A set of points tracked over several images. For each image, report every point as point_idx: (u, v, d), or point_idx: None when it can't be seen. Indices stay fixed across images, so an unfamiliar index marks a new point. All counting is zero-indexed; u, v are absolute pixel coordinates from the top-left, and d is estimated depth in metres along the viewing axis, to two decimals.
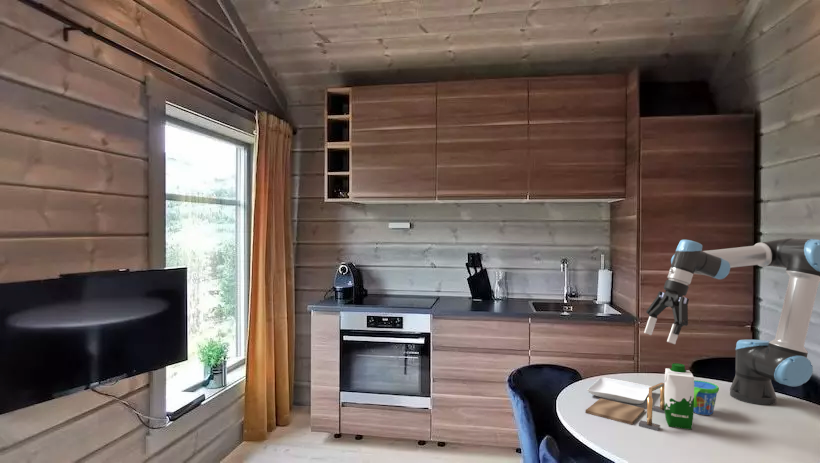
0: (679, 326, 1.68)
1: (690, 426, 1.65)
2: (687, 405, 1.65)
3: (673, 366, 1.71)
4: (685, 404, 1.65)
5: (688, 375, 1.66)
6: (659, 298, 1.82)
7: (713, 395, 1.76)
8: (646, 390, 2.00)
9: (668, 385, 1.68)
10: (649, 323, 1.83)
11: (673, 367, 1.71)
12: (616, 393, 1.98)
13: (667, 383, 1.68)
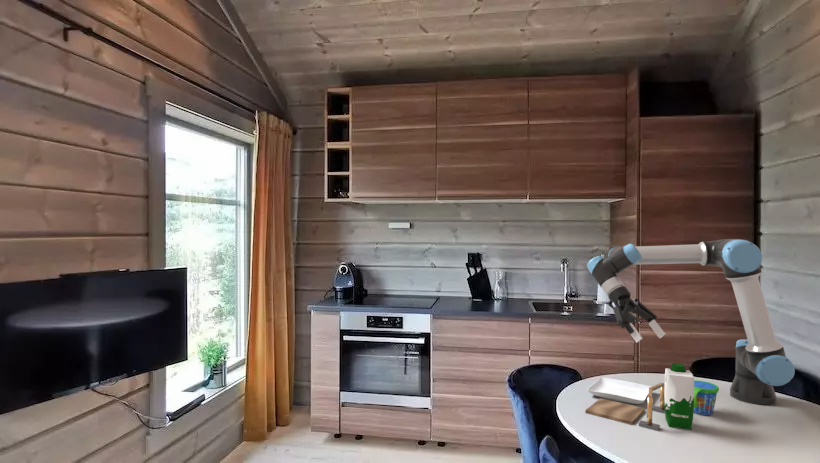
0: (625, 326, 1.77)
1: (690, 426, 1.65)
2: (687, 405, 1.65)
3: (673, 366, 1.71)
4: (685, 404, 1.65)
5: (688, 375, 1.66)
6: None
7: (713, 395, 1.76)
8: (646, 390, 2.00)
9: (668, 385, 1.68)
10: (653, 329, 1.84)
11: (673, 367, 1.71)
12: (616, 393, 1.98)
13: (667, 383, 1.68)
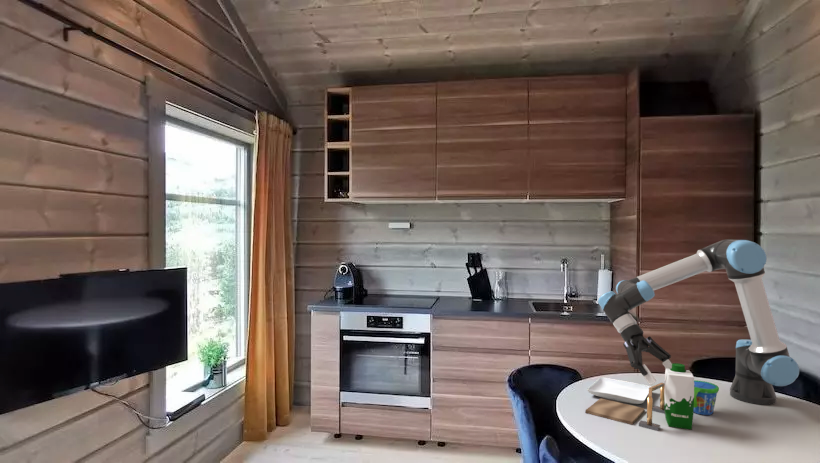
0: (639, 367, 1.72)
1: (690, 426, 1.65)
2: (687, 405, 1.65)
3: (673, 366, 1.71)
4: (685, 404, 1.65)
5: (688, 375, 1.66)
6: None
7: (713, 395, 1.76)
8: (646, 390, 2.00)
9: (668, 385, 1.68)
10: None
11: (673, 367, 1.71)
12: (616, 393, 1.98)
13: (667, 383, 1.68)
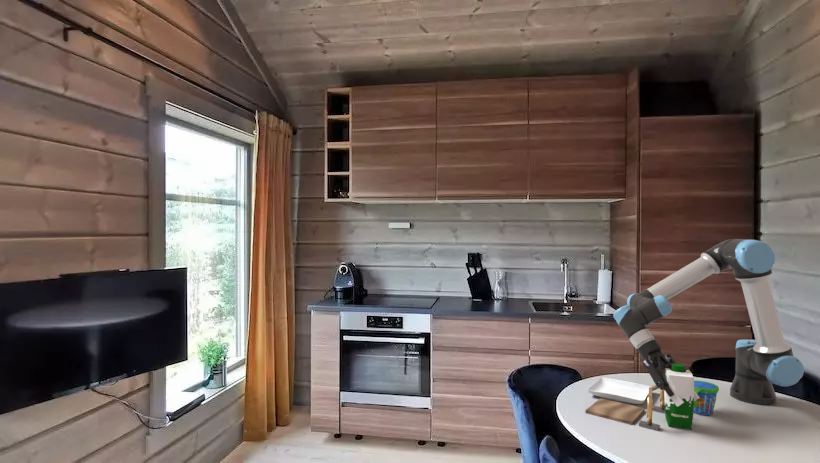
0: (665, 388, 1.67)
1: (690, 426, 1.65)
2: (687, 405, 1.64)
3: (673, 366, 1.70)
4: (685, 405, 1.64)
5: (688, 375, 1.66)
6: None
7: (713, 395, 1.76)
8: (646, 390, 2.00)
9: (668, 385, 1.68)
10: None
11: (673, 367, 1.70)
12: (616, 393, 1.98)
13: None
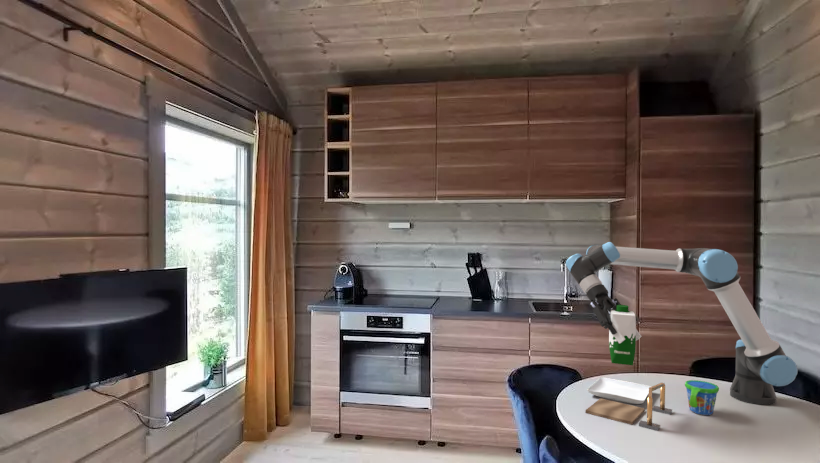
0: (608, 327, 1.76)
1: (631, 362, 1.74)
2: (628, 342, 1.73)
3: (617, 307, 1.79)
4: (627, 341, 1.73)
5: (630, 314, 1.75)
6: None
7: (713, 395, 1.76)
8: (646, 390, 2.00)
9: None
10: None
11: (617, 308, 1.79)
12: (616, 393, 1.98)
13: None
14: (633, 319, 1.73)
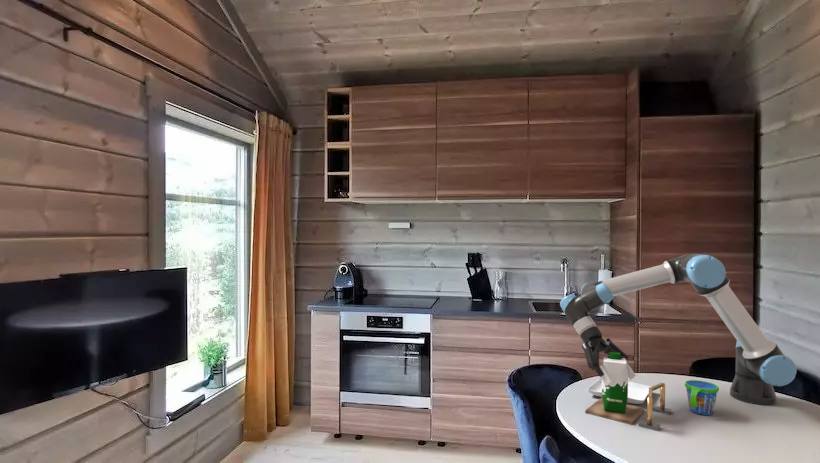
0: (595, 368, 1.77)
1: (624, 410, 1.75)
2: (620, 390, 1.75)
3: (609, 354, 1.82)
4: (619, 389, 1.75)
5: (622, 362, 1.77)
6: None
7: (713, 395, 1.76)
8: (646, 390, 2.00)
9: None
10: None
11: (609, 355, 1.82)
12: None
13: None
14: (625, 367, 1.75)
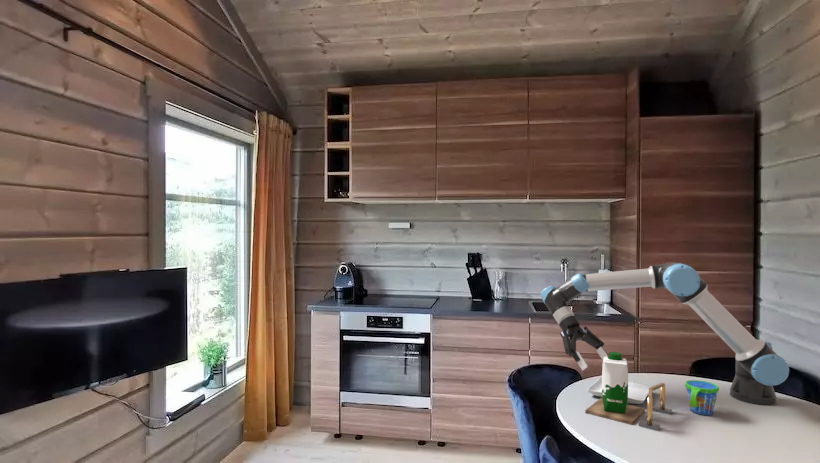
0: (572, 354, 1.88)
1: (624, 410, 1.75)
2: (620, 391, 1.75)
3: (610, 354, 1.81)
4: (619, 390, 1.75)
5: (622, 363, 1.77)
6: None
7: (713, 395, 1.76)
8: (646, 390, 2.00)
9: (604, 372, 1.78)
10: (600, 355, 1.95)
11: (610, 355, 1.81)
12: None
13: (603, 370, 1.79)
14: (625, 368, 1.75)
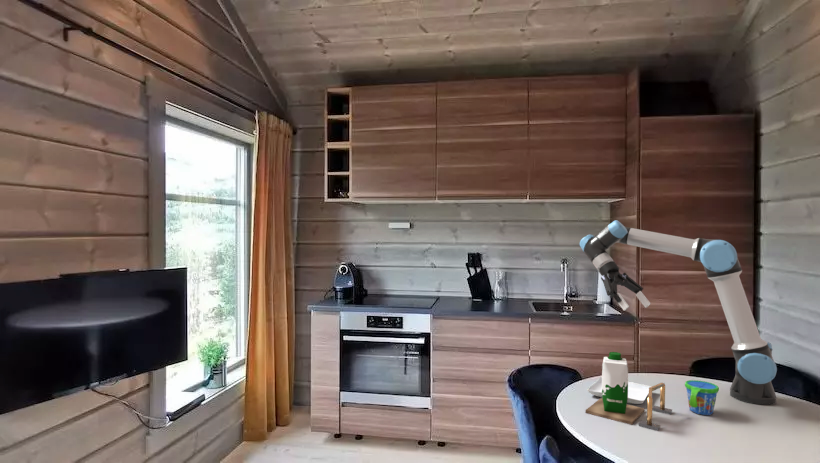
0: (614, 296, 1.95)
1: (624, 410, 1.75)
2: (620, 391, 1.75)
3: (610, 354, 1.81)
4: (619, 390, 1.75)
5: (622, 363, 1.77)
6: None
7: (713, 395, 1.76)
8: (646, 390, 2.00)
9: (604, 372, 1.78)
10: (640, 299, 2.02)
11: (610, 355, 1.81)
12: None
13: (603, 370, 1.79)
14: (625, 368, 1.75)
